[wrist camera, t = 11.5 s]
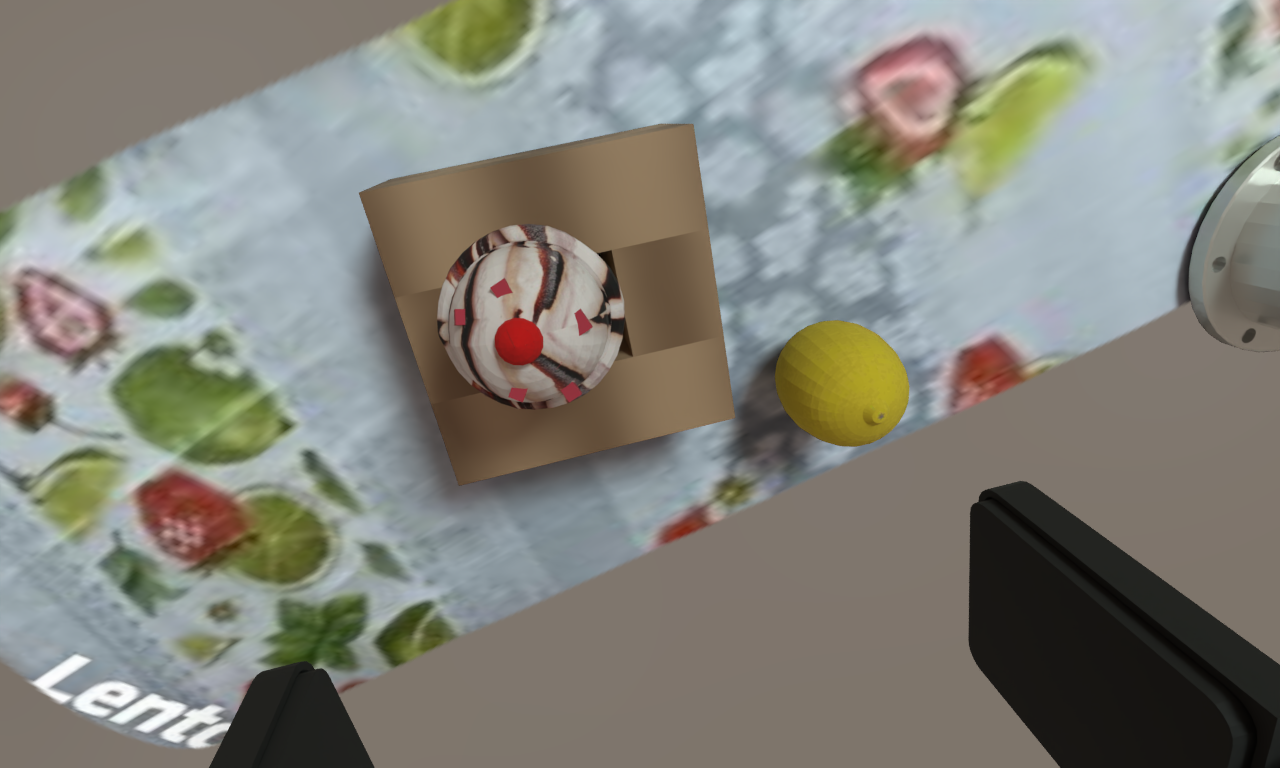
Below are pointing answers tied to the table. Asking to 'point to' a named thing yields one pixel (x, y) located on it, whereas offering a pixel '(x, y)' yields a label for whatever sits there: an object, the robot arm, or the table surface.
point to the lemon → (842, 383)
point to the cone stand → (629, 244)
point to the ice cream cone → (531, 316)
